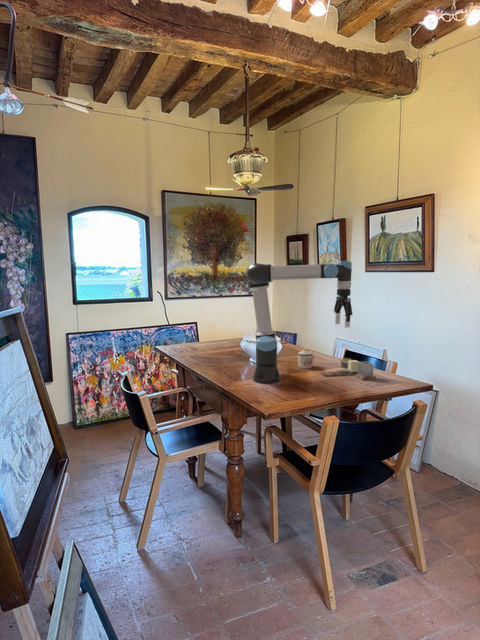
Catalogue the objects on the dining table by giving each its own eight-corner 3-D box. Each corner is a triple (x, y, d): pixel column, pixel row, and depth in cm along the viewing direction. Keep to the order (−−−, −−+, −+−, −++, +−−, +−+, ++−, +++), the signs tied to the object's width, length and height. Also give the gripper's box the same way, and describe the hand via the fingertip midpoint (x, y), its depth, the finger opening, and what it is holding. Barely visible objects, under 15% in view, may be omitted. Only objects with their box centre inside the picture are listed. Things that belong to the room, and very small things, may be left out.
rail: (324, 376, 221) (325, 372, 220) (321, 374, 227) (321, 370, 226) (367, 374, 225) (367, 370, 225) (362, 371, 231) (362, 367, 231)
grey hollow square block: (362, 377, 214) (363, 364, 213) (357, 374, 220) (358, 362, 219) (372, 376, 215) (373, 364, 214) (367, 373, 221) (368, 361, 220)
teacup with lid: (304, 369, 238) (305, 350, 236) (294, 366, 245) (294, 348, 244) (318, 366, 245) (318, 348, 243) (308, 364, 252) (308, 346, 251)
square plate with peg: (362, 380, 213) (362, 365, 212) (355, 376, 221) (355, 361, 220) (375, 379, 214) (375, 364, 213) (368, 375, 222) (368, 361, 221)
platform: (340, 365, 250) (340, 355, 249) (365, 369, 237) (366, 359, 236) (329, 368, 242) (329, 357, 241) (355, 373, 229) (355, 362, 228)
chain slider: (337, 372, 223) (338, 362, 222) (335, 371, 227) (335, 361, 226) (358, 371, 225) (359, 361, 224) (355, 370, 229) (356, 360, 228)
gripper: (360, 289, 208) (358, 328, 211) (341, 287, 232) (339, 322, 235) (346, 289, 207) (345, 328, 209) (329, 287, 231) (327, 322, 234)
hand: (342, 325), depth 222 cm, fingers open, 13 cm apart
